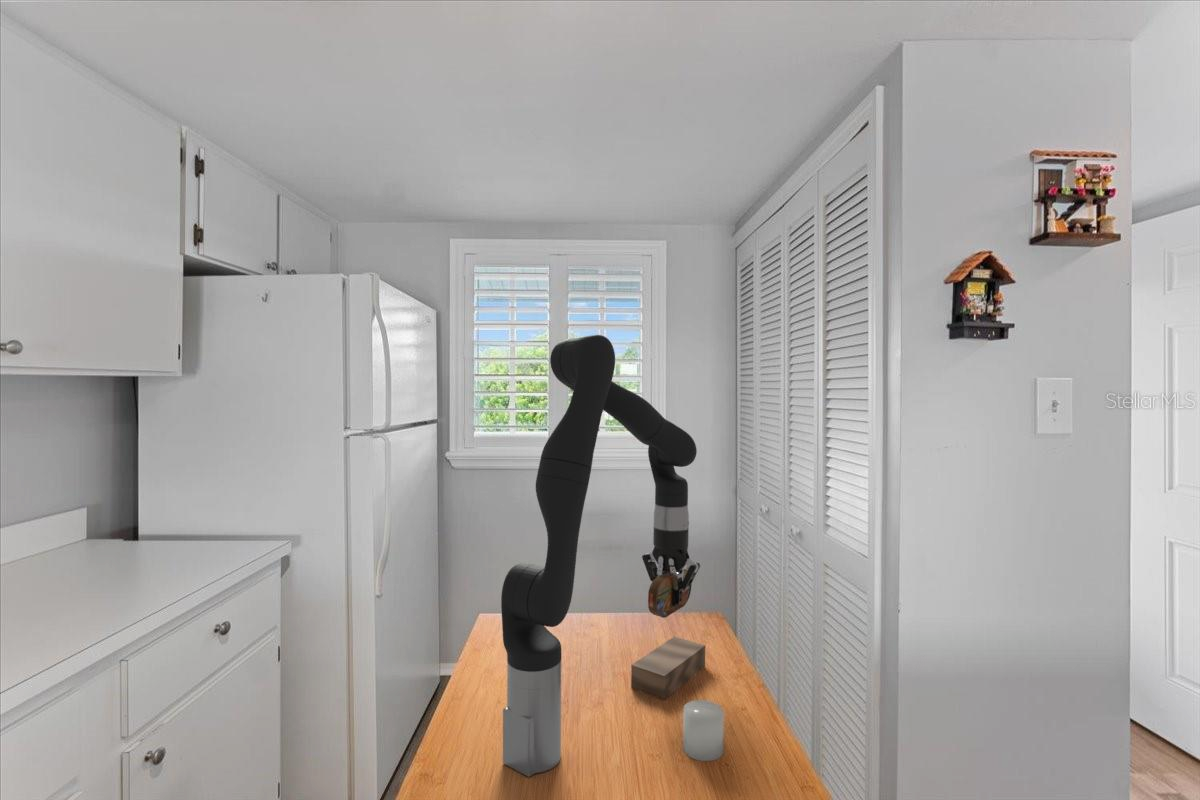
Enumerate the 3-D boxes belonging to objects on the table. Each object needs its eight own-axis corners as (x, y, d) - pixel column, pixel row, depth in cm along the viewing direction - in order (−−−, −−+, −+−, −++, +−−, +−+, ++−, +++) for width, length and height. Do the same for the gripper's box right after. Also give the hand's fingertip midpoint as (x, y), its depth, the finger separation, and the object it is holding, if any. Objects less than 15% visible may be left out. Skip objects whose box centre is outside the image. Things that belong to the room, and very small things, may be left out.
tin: (656, 623, 129) (659, 583, 129) (643, 618, 131) (646, 579, 131) (691, 602, 141) (694, 565, 141) (679, 598, 143) (681, 562, 143)
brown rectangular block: (663, 700, 127) (664, 676, 127) (631, 688, 132) (631, 664, 132) (704, 667, 142) (705, 645, 141) (674, 657, 146) (674, 636, 146)
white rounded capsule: (712, 766, 106) (712, 725, 106) (675, 751, 110) (676, 712, 110) (729, 746, 112) (730, 708, 111) (694, 733, 116) (694, 696, 115)
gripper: (634, 523, 136) (633, 601, 137) (691, 533, 128) (690, 616, 129) (652, 517, 142) (651, 592, 143) (708, 526, 134) (706, 606, 135)
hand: (669, 603), depth 136 cm, fingers closed on tin, 2 cm apart
